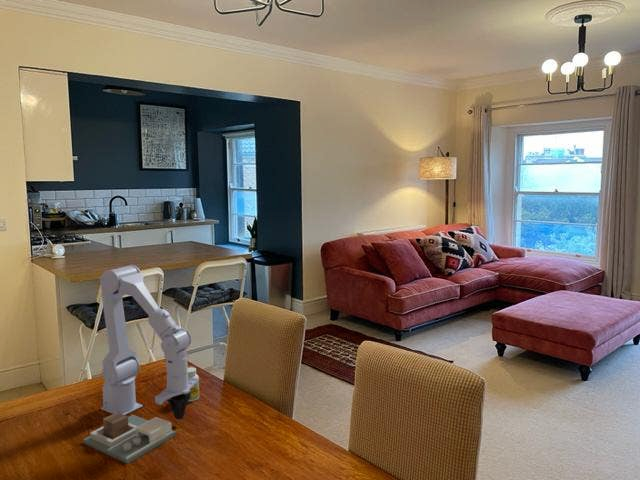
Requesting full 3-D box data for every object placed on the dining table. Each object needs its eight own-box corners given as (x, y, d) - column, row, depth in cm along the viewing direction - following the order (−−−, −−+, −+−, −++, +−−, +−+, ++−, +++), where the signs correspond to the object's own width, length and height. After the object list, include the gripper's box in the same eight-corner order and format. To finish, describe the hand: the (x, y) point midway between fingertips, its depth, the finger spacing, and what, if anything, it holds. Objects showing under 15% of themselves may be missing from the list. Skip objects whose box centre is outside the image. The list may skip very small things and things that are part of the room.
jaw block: (104, 439, 136) (102, 418, 135) (118, 432, 140) (117, 412, 139) (114, 444, 134) (113, 423, 133) (129, 437, 137) (128, 416, 137)
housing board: (83, 442, 134) (82, 434, 134) (133, 417, 148) (132, 409, 148) (127, 463, 125) (126, 454, 125) (176, 434, 139) (176, 426, 138)
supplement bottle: (196, 393, 164) (195, 364, 163) (202, 399, 160) (201, 370, 158) (179, 397, 161) (178, 368, 160) (185, 403, 157) (184, 374, 155)
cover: (135, 437, 135) (135, 427, 135) (156, 426, 141) (156, 416, 141) (151, 443, 132) (150, 433, 132) (171, 432, 138) (171, 422, 138)
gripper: (167, 385, 134) (169, 433, 136) (206, 367, 146) (207, 411, 148) (149, 379, 138) (151, 426, 139) (188, 362, 150) (190, 405, 152)
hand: (179, 418), depth 144 cm, fingers closed
